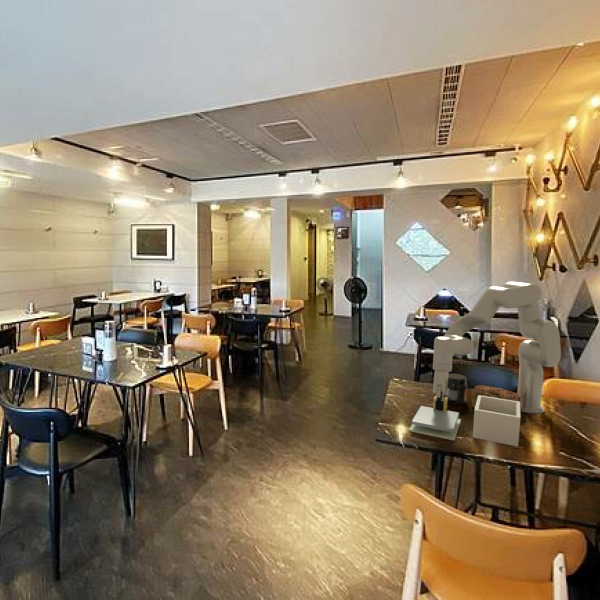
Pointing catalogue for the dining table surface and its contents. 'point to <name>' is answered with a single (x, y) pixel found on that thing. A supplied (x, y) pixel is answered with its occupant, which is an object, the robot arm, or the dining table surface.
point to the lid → (436, 417)
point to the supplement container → (456, 389)
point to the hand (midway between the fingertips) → (440, 407)
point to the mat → (436, 431)
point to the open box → (497, 420)
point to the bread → (493, 393)
